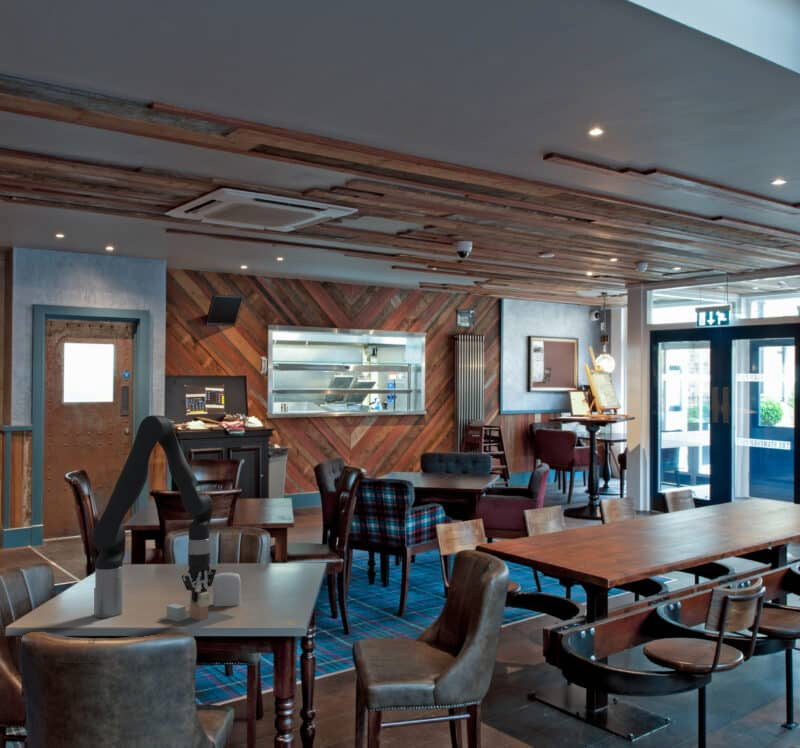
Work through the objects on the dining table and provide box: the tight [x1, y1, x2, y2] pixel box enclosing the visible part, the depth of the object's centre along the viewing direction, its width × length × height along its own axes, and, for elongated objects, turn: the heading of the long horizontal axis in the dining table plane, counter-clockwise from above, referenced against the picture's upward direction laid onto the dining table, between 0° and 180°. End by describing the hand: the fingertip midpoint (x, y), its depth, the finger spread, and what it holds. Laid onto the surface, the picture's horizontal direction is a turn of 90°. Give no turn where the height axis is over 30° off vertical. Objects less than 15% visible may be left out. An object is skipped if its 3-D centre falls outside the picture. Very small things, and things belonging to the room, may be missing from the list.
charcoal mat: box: [157, 609, 235, 631], centre depth 278 cm, size 20×18×1 cm
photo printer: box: [212, 572, 242, 607], centre depth 296 cm, size 10×4×12 cm, turn 95°
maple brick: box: [189, 589, 210, 608], centre depth 278 cm, size 6×3×4 cm, turn 53°
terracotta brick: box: [188, 604, 209, 621], centre depth 279 cm, size 6×3×4 cm, turn 53°
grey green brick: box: [166, 603, 186, 622], centre depth 277 cm, size 6×3×4 cm, turn 53°
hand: (199, 600), depth 279 cm, fingers closed on maple brick, 3 cm apart
